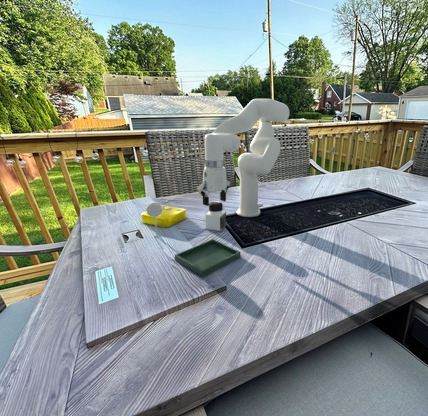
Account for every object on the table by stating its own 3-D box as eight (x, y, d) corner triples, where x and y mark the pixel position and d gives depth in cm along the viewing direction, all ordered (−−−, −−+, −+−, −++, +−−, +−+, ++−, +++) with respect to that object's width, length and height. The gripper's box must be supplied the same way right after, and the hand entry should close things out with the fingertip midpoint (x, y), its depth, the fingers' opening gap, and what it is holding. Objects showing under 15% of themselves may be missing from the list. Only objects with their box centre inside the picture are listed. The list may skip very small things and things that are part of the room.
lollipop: (168, 235, 110) (165, 201, 105) (158, 241, 104) (154, 205, 99) (156, 232, 112) (152, 199, 107) (145, 238, 106) (141, 203, 101)
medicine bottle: (220, 231, 116) (220, 205, 112) (205, 229, 117) (204, 204, 113) (226, 225, 122) (226, 201, 118) (212, 223, 124) (211, 199, 120)
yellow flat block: (140, 222, 121) (139, 212, 119) (163, 212, 134) (162, 203, 132) (166, 228, 116) (165, 218, 114) (187, 217, 129) (187, 208, 128)
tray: (213, 243, 105) (213, 238, 104) (240, 256, 96) (240, 251, 95) (175, 260, 92) (174, 254, 91) (202, 277, 83) (202, 271, 82)
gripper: (203, 167, 101) (204, 209, 107) (235, 163, 114) (234, 201, 120) (191, 164, 105) (193, 204, 111) (223, 161, 119) (223, 197, 124)
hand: (214, 202), depth 115 cm, fingers open, 9 cm apart
